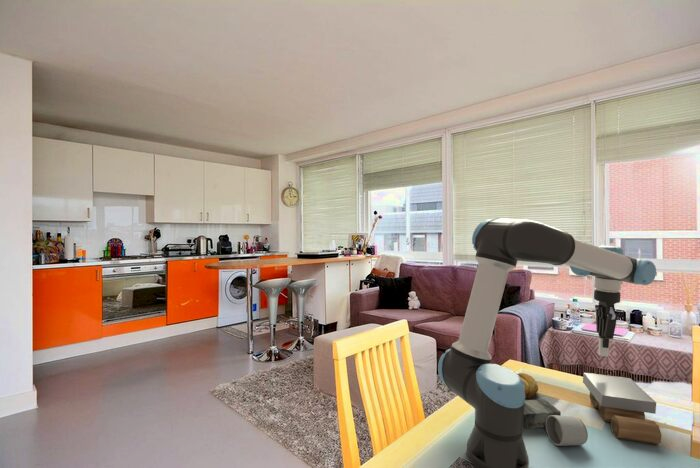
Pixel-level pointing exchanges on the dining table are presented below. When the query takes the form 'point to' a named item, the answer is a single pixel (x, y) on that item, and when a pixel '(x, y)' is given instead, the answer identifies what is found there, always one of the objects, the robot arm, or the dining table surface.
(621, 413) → the front roller
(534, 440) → the dining table surface
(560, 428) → the ceramic mug
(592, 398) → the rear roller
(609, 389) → the slab
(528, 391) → the bread roll
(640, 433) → the loose roller
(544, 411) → the stone block
